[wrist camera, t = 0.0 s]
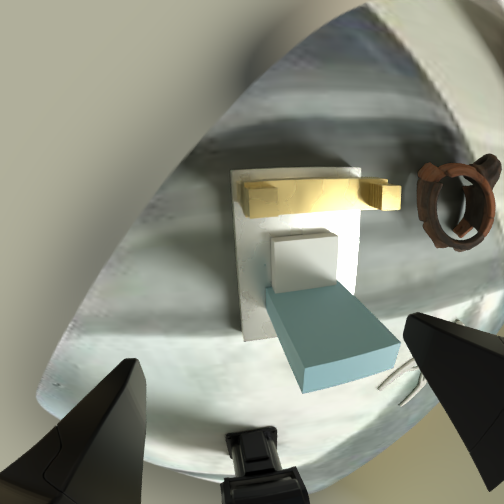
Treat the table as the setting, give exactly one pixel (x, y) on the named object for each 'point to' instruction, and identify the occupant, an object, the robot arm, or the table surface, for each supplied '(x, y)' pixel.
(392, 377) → the pliers
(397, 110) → the table surface
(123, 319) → the table surface
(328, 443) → the table surface
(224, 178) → the table surface
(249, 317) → the block holder base
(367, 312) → the clip bar
